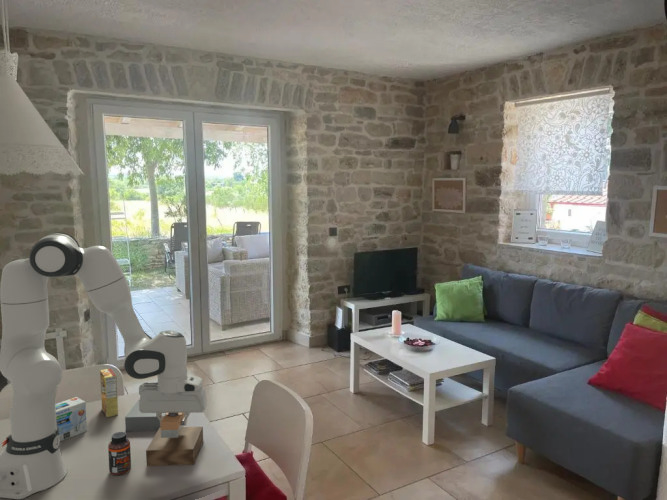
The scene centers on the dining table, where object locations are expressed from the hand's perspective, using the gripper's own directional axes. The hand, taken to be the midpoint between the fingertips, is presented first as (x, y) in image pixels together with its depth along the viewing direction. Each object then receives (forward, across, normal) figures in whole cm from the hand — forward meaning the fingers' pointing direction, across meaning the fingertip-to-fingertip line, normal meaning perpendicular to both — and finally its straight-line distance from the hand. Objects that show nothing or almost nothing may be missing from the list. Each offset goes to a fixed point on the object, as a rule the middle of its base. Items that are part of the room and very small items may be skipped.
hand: (173, 424), depth 153 cm
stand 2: (+10, 0, 0) cm, 10 cm away
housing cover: (-1, 0, 0) cm, 1 cm away
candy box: (+10, -32, +30) cm, 45 cm away
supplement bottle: (+10, -13, -9) cm, 19 cm away
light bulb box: (+10, -40, +14) cm, 43 cm away
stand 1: (+9, -14, +22) cm, 28 cm away
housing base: (+2, 0, 0) cm, 2 cm away
